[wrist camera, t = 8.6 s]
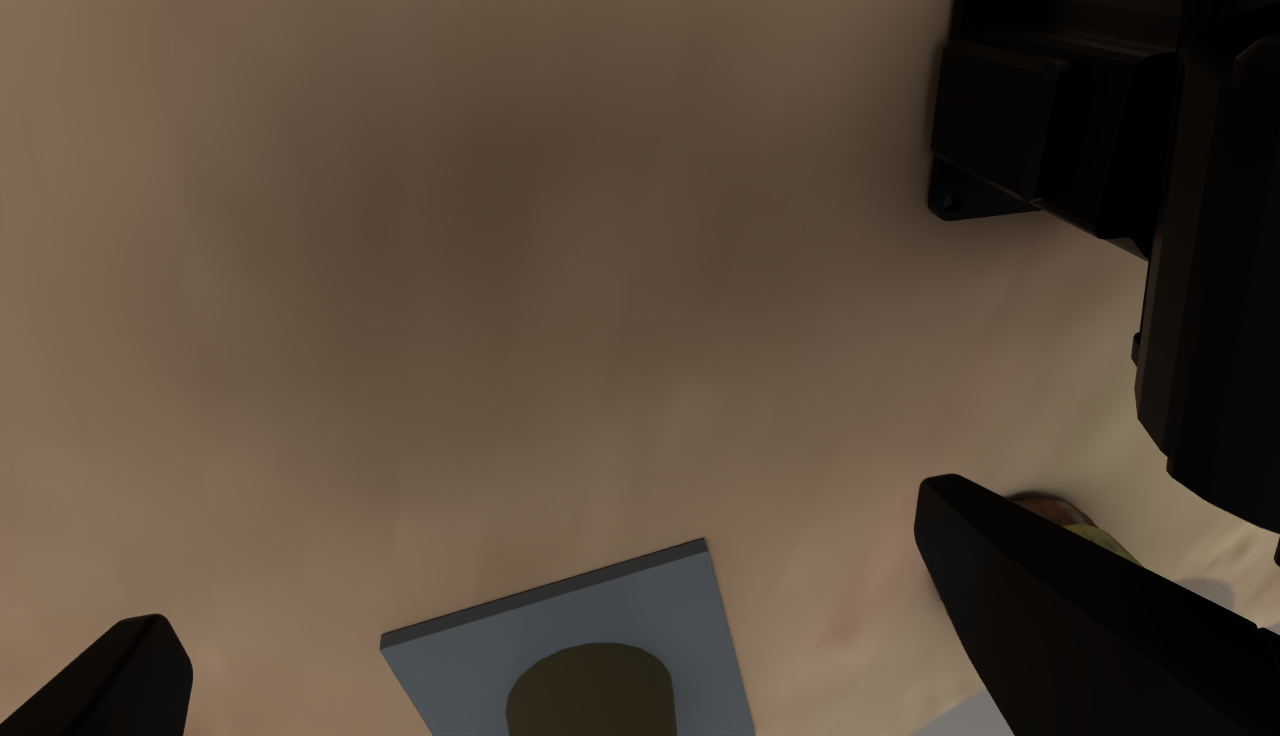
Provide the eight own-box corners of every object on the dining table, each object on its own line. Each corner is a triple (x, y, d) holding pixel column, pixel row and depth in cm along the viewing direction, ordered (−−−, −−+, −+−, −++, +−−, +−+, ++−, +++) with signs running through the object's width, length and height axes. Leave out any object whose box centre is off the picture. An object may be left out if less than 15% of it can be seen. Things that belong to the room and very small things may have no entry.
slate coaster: (703, 538, 26) (708, 550, 25) (753, 732, 31) (758, 745, 31) (381, 635, 25) (379, 649, 25) (491, 813, 31) (491, 828, 31)
